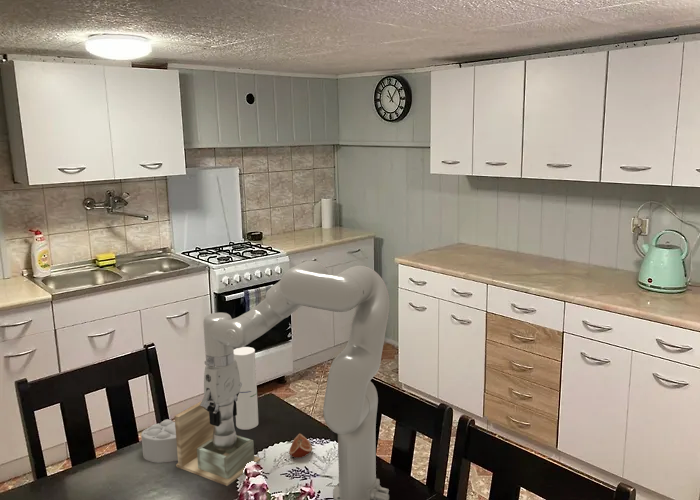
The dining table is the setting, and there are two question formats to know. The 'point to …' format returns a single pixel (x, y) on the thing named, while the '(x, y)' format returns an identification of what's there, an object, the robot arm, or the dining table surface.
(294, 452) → the fruit slice
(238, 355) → the cylindrical container
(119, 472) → the dining table surface
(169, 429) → the lumpy-topped squat cylinder
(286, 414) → the dining table surface
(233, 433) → the plastic bottle
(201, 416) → the wall caddy
